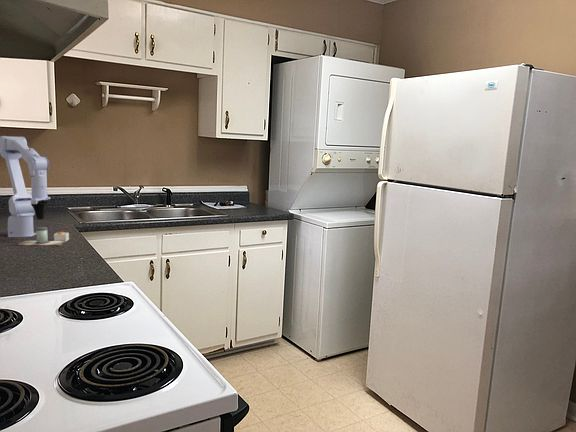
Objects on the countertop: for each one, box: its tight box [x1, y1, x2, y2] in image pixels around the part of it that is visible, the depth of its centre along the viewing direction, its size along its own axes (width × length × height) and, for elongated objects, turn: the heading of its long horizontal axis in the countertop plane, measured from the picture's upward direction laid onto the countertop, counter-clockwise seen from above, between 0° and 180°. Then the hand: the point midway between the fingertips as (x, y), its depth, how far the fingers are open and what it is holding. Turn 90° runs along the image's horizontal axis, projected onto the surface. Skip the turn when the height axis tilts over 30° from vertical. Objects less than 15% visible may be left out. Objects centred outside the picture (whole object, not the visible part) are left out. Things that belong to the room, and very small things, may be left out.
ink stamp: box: [35, 226, 49, 243], centre depth 196 cm, size 4×4×6 cm
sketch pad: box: [17, 240, 67, 247], centre depth 197 cm, size 16×8×1 cm, turn 99°
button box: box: [53, 232, 70, 242], centre depth 204 cm, size 5×5×3 cm
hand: (40, 219), depth 201 cm, fingers closed
